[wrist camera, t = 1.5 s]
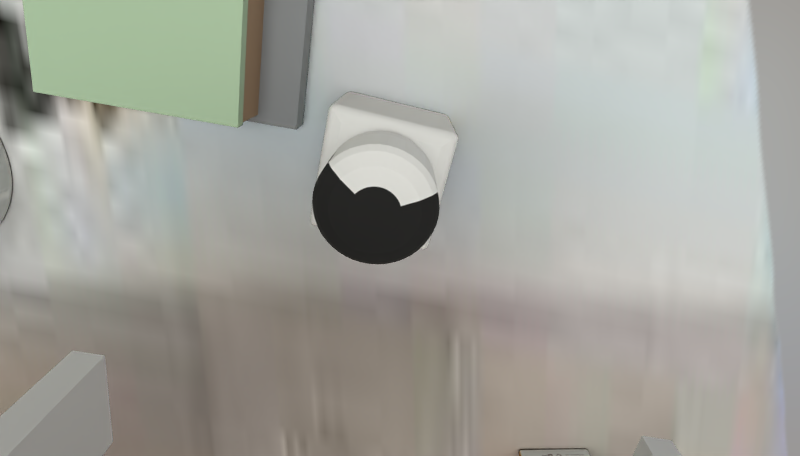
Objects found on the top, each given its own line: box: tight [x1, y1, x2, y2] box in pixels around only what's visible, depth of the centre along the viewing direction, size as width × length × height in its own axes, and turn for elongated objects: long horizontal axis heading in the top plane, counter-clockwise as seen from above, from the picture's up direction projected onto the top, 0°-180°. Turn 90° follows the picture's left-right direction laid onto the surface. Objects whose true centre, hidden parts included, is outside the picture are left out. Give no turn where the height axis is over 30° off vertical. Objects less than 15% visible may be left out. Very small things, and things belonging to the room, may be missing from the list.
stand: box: [23, 0, 314, 129], centre depth 27 cm, size 16×12×6 cm
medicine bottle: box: [310, 92, 458, 264], centre depth 27 cm, size 7×7×12 cm
